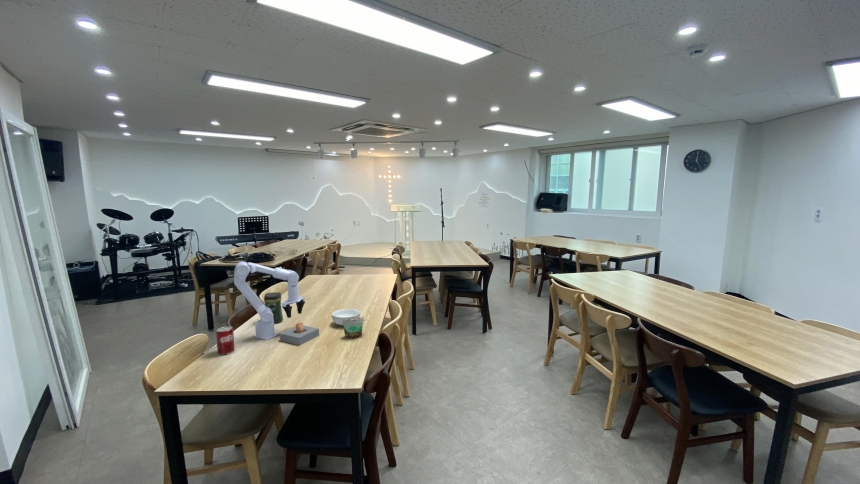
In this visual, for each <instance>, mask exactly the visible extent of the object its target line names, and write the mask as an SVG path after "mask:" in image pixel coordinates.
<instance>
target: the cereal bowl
mask: <svg viewBox="0 0 860 484" xmlns="http://www.w3.org/2000/svg"><path fill="white" fill-rule="evenodd" d="M353 318H361V312H360V310H359V309H355V308H343V309H338V310H335V311H333V312H331V319H332V321H333V323H335V324H337V325H340V326H341V327H344V326H343V323H342V320H349V319H353Z"/></svg>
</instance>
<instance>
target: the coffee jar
mask: <svg viewBox="0 0 860 484" xmlns="http://www.w3.org/2000/svg"><path fill="white" fill-rule="evenodd" d="M263 296H264V299H263V303H264V305H265V306H266V307H269V308H270V309H271V311H272V313H273V319H274V324H280V323H281V322H283V320H284V317H283V311H282V309H283V308H282V299H283V297H282V294H281V292H267V293H265V294H264V295H263Z"/></svg>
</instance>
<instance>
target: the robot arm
mask: <svg viewBox="0 0 860 484" xmlns="http://www.w3.org/2000/svg"><path fill="white" fill-rule="evenodd" d="M233 270H234V271H233V272H234V273H233V278H234V280H233V284H234V286H235V287H236V288H237V289H238V291H239V292H240V293H241V294H242V295H243V296H244V297H245V298H246V300H247V301H248V302H249V303H250V305H251V306H252V307H253V308H254V310H256V312H257V313H258V315H259V317H260V319H259V320H257V321H256V322H255V336H254V338H256V339H259V340H264V341H268V340H270V339H271V338H275V337H277V336H278V335H279V333H276V332H275V323H274V319H273V313H272V311H271V309H270V308H269V307H266V305H265V303H264V302H262V300H261V299H260V298H259V296H258V295H257V294H256V293H255V291H254V290H253V288H251V287H250V285H249V284H248V283H247V282H246V279H247V277H248V275H249V274H250V273H251V274H253V273H255V272H258V273H262V274H268V275H271V276H272V277H273V278H275V279H278V280H283V281H287V300H286V301H284V302H281V309H283V311H284V312H285V314H286V318H287V319H291V318H292V308H293V306H291V305H293V304H296V309H297V310H296V311H297V314H298V315H302V312H303V307H304V306H305V303H306V301H305V300H306V298H305V296H300V291H299V287H300V286H299V280H300V276H299V274H298V273H297V272H296V271H294V270H291V269H285V268H282V266H279V267H275V268H272V267H268V266H265V265H262V264H257V263H253V262H250V261H249V262H247V261H239V262H237V263H236V264H235V267H234V269H233Z"/></svg>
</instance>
